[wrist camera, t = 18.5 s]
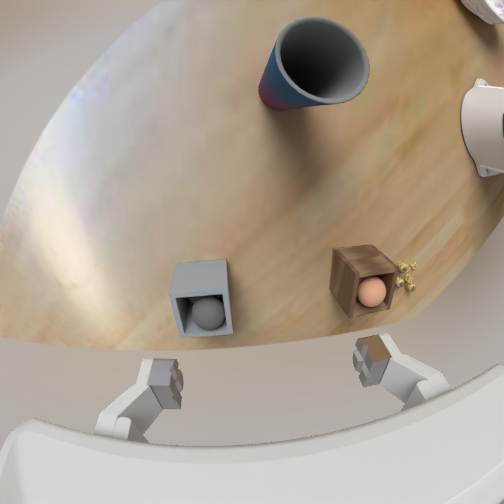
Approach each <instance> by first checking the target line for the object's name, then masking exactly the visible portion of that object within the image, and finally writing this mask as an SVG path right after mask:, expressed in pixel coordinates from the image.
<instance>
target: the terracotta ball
mask: <svg viewBox="0 0 504 504" xmlns="http://www.w3.org/2000/svg"><path fill="white" fill-rule="evenodd" d="M385 296H386V287H385V284H384V283H383V281H382V280H381V279H379V278H377V277H374V276H370V277H366V278H364V279H363V280H362V281H361V282H360V283H359V285H358V290H357V297H358V299H359V301H360V302H361V303H362V304H363V305H365V306H367V307H375V306H377V305H379V304H380V303H382V301H383V300H384V298H385Z"/></svg>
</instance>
